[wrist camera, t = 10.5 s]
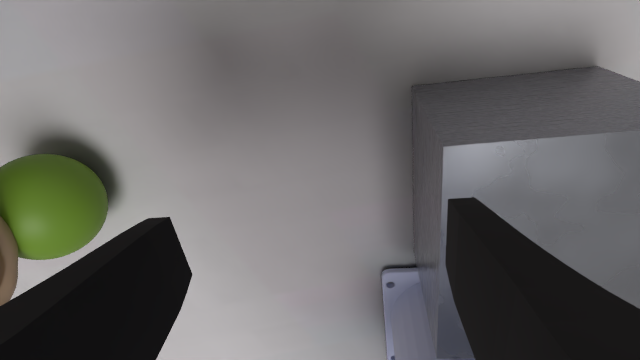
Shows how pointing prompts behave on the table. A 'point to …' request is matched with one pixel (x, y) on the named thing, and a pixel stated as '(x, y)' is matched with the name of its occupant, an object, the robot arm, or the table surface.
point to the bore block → (529, 176)
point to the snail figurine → (46, 211)
